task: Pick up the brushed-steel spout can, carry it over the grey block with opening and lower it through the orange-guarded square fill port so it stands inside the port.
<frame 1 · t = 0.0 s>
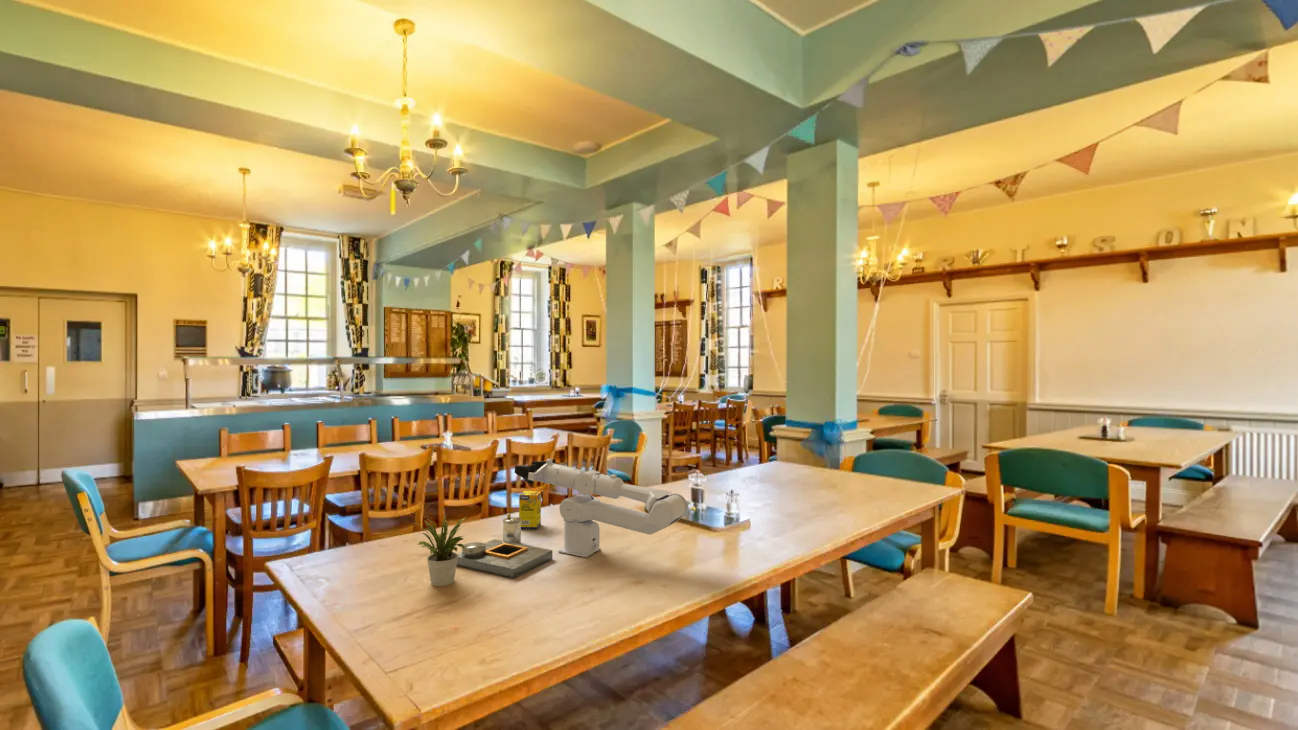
hand: (524, 467, 174), 22 cm above the table, tool horizontal, fingers open, 7 cm apart
house plant: (436, 584, 140), on the table
supplement box: (529, 527, 188), on the table
spout can: (511, 543, 171), on the table
grey block with opening: (503, 561, 155), on the table
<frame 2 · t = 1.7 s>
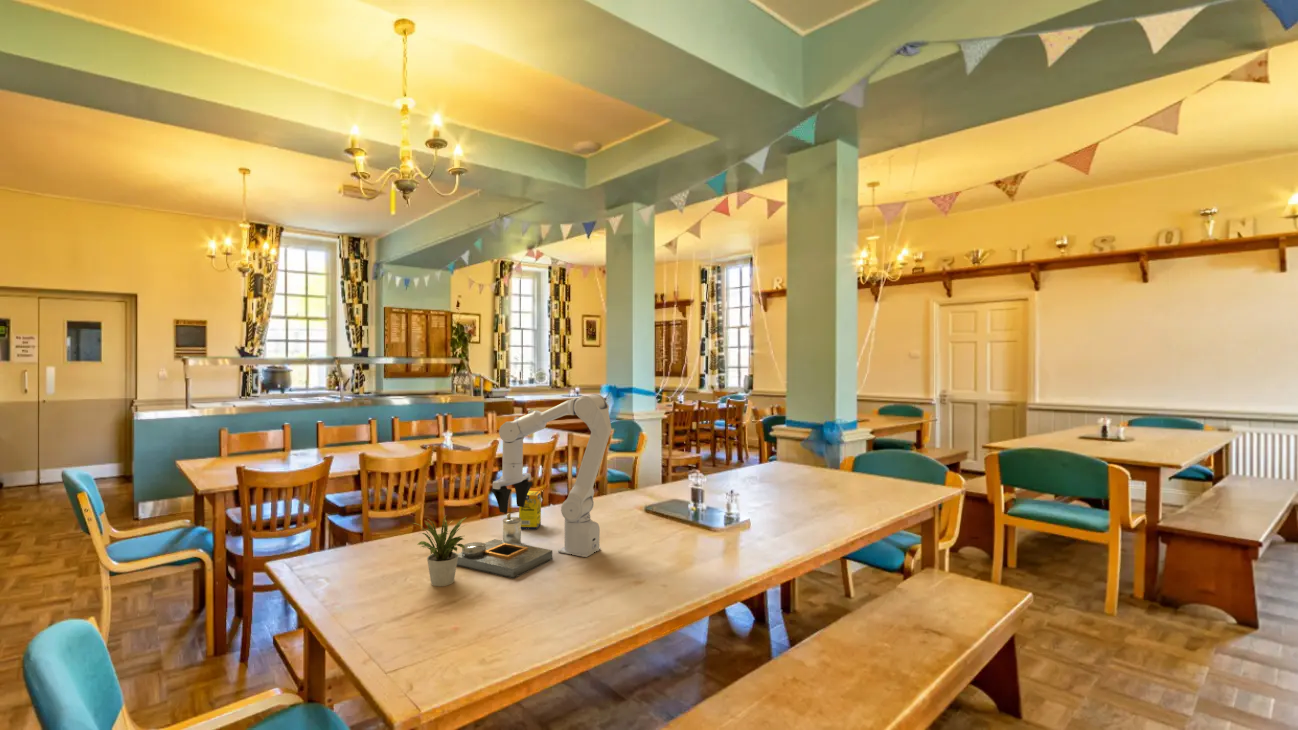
hand: (512, 509, 171), 10 cm above the table, tool pointing down, fingers open, 7 cm apart
nothing on the table moved.
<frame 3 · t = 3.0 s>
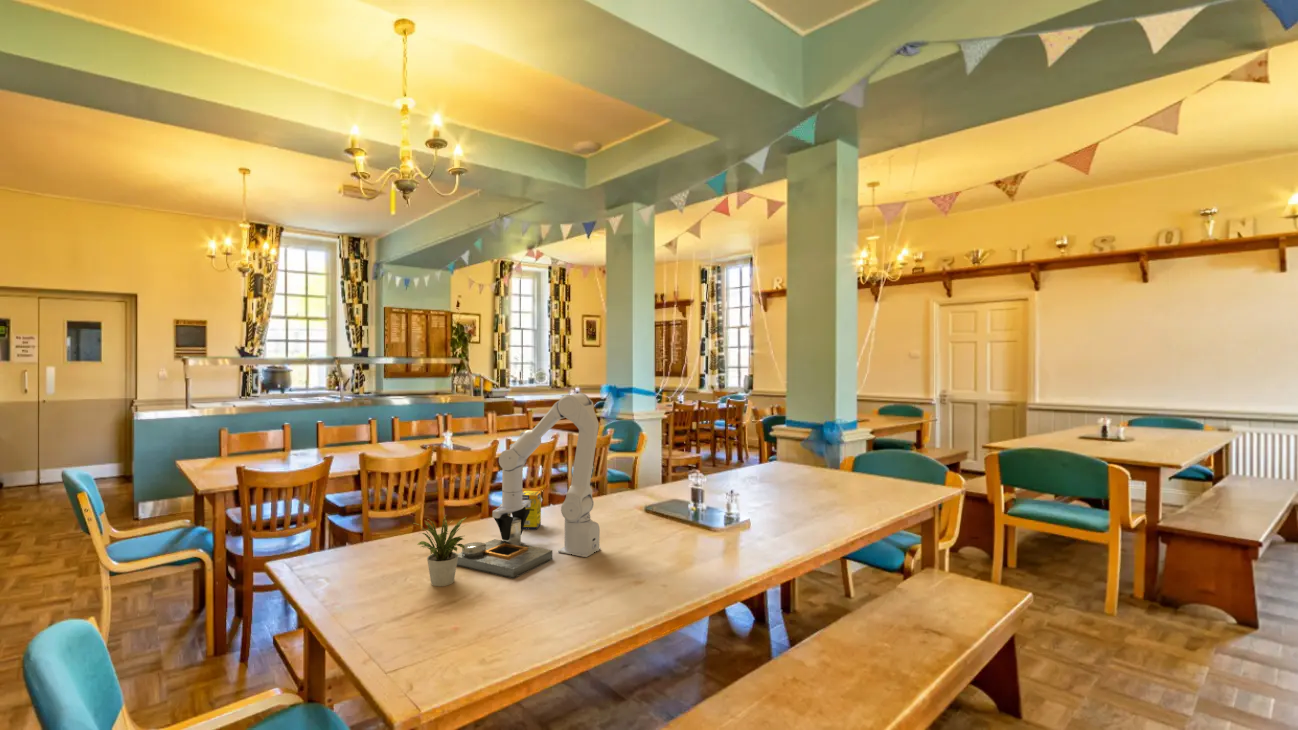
hand: (511, 537, 171), 2 cm above the table, tool pointing down, fingers closed on spout can, 5 cm apart
spout can: (511, 543, 171), on the table, touching gripper
everything else where it was.
when the fingers open (4 cm above the table, at t = 6.6 s): spout can drops 2 cm, resting on grey block with opening.
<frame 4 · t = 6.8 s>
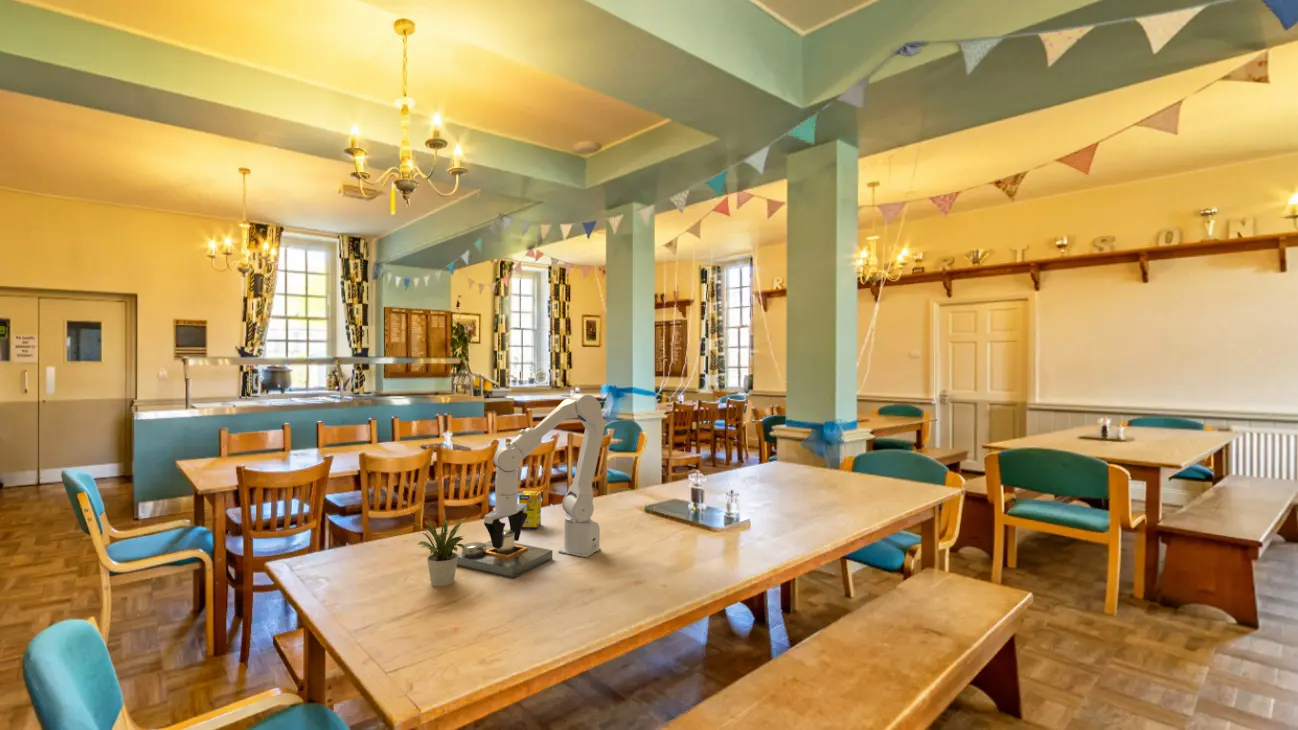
hand: (506, 543, 156), 5 cm above the table, tool pointing down, fingers open, 7 cm apart
spout can: (504, 559, 156), resting on grey block with opening
everything else where it was.
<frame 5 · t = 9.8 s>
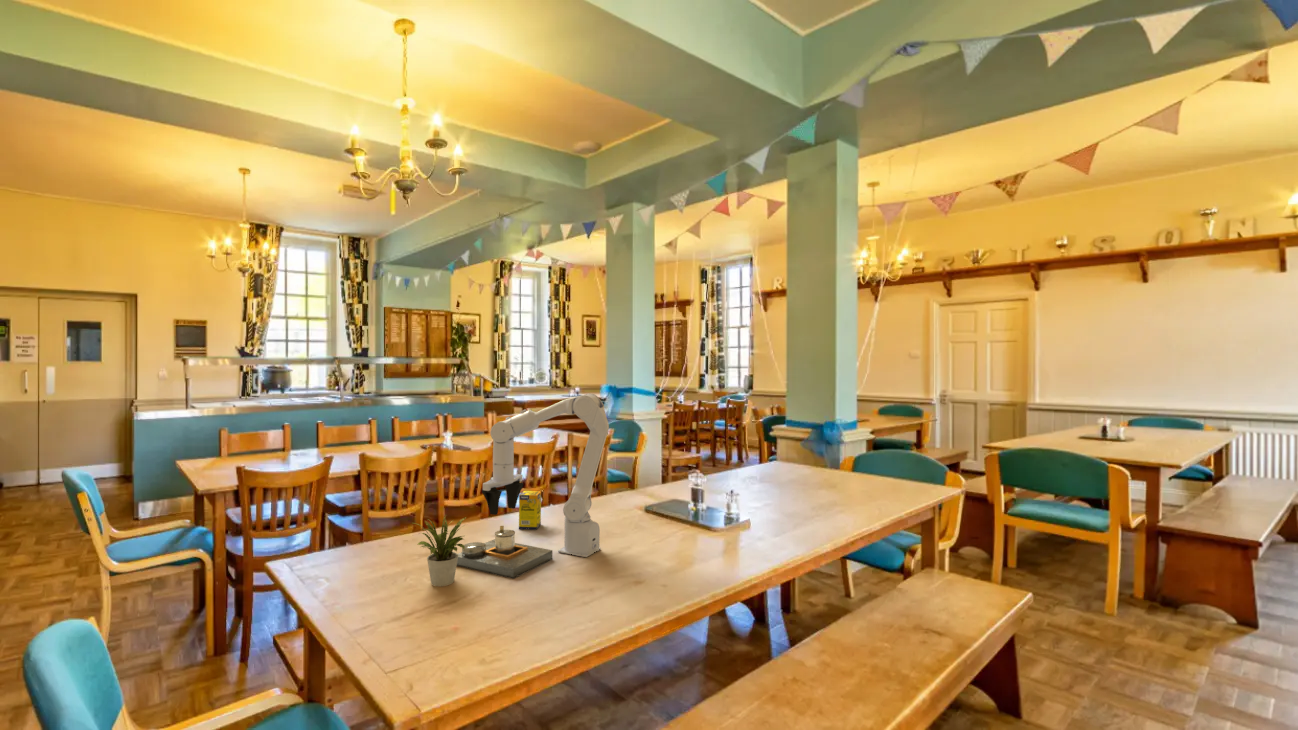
hand: (502, 511, 167), 10 cm above the table, tool pointing down, fingers open, 7 cm apart
nothing on the table moved.
at the end: spout can 0.4 cm from the target spot on the grey block with opening, point 0.4 cm above the grey block with opening's base; spout can tilted 0°; the gripper is holding nothing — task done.
